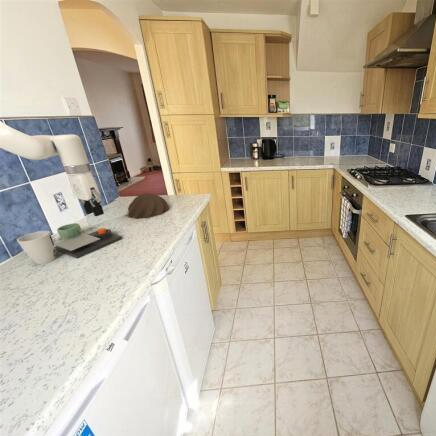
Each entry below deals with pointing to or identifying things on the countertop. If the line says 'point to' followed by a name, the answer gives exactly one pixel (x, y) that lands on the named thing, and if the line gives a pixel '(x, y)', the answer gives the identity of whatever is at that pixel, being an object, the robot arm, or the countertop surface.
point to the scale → (93, 244)
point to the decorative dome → (147, 206)
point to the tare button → (101, 231)
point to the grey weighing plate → (76, 241)
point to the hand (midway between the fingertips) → (95, 213)
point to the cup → (38, 246)
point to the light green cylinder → (69, 231)
